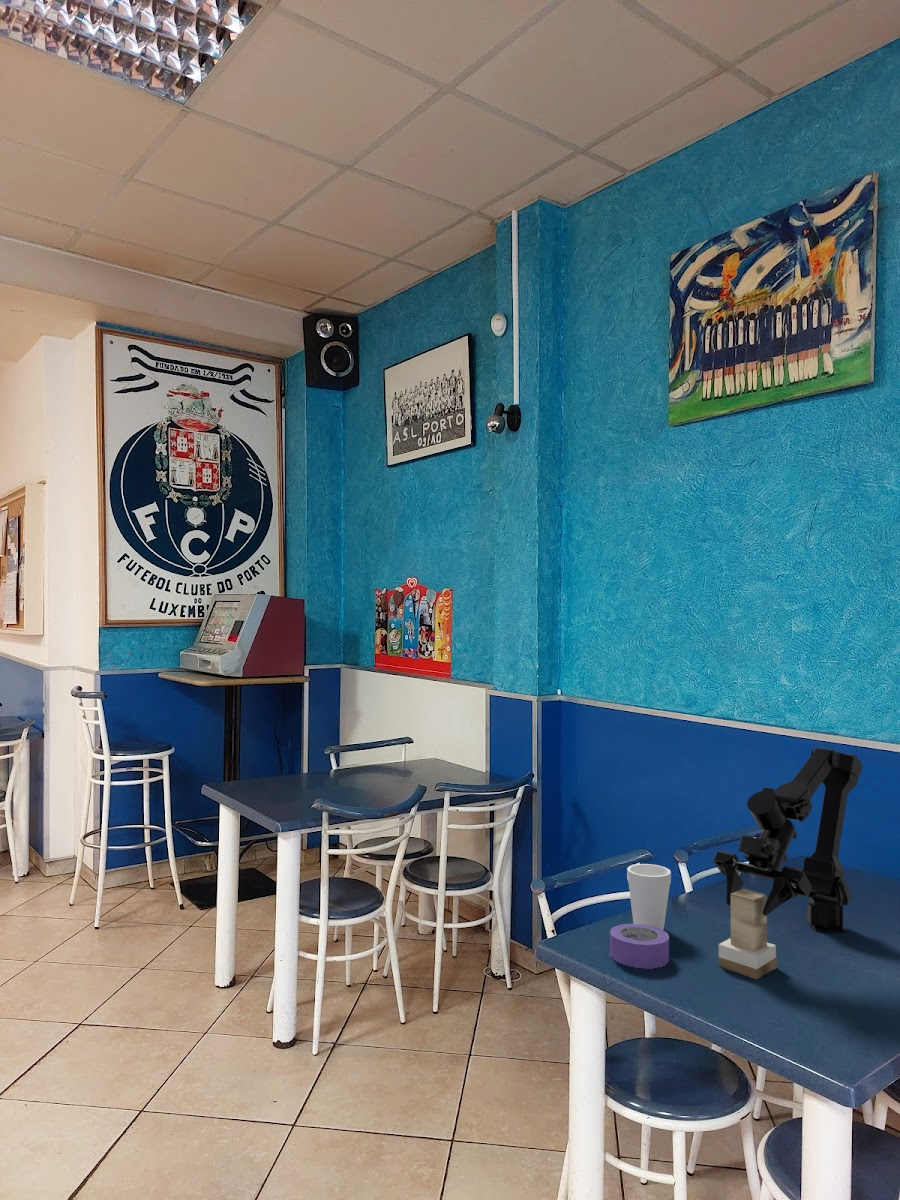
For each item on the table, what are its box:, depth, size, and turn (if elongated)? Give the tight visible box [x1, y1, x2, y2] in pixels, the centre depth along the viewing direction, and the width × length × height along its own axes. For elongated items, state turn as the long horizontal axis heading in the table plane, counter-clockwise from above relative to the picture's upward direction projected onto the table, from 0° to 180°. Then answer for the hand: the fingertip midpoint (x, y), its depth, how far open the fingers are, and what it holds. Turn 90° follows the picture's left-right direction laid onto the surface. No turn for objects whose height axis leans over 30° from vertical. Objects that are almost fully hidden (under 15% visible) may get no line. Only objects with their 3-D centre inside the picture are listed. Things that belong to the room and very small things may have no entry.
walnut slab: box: [718, 956, 778, 980], centre depth 171 cm, size 8×8×2 cm
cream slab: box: [718, 937, 777, 969], centre depth 171 cm, size 8×8×2 cm
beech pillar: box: [730, 888, 768, 952], centre depth 171 cm, size 5×5×10 cm
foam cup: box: [626, 863, 672, 931], centre depth 191 cm, size 10×9×13 cm
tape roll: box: [609, 923, 670, 970], centre depth 176 cm, size 12×12×5 cm
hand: (745, 909), depth 170 cm, fingers open, 7 cm apart
